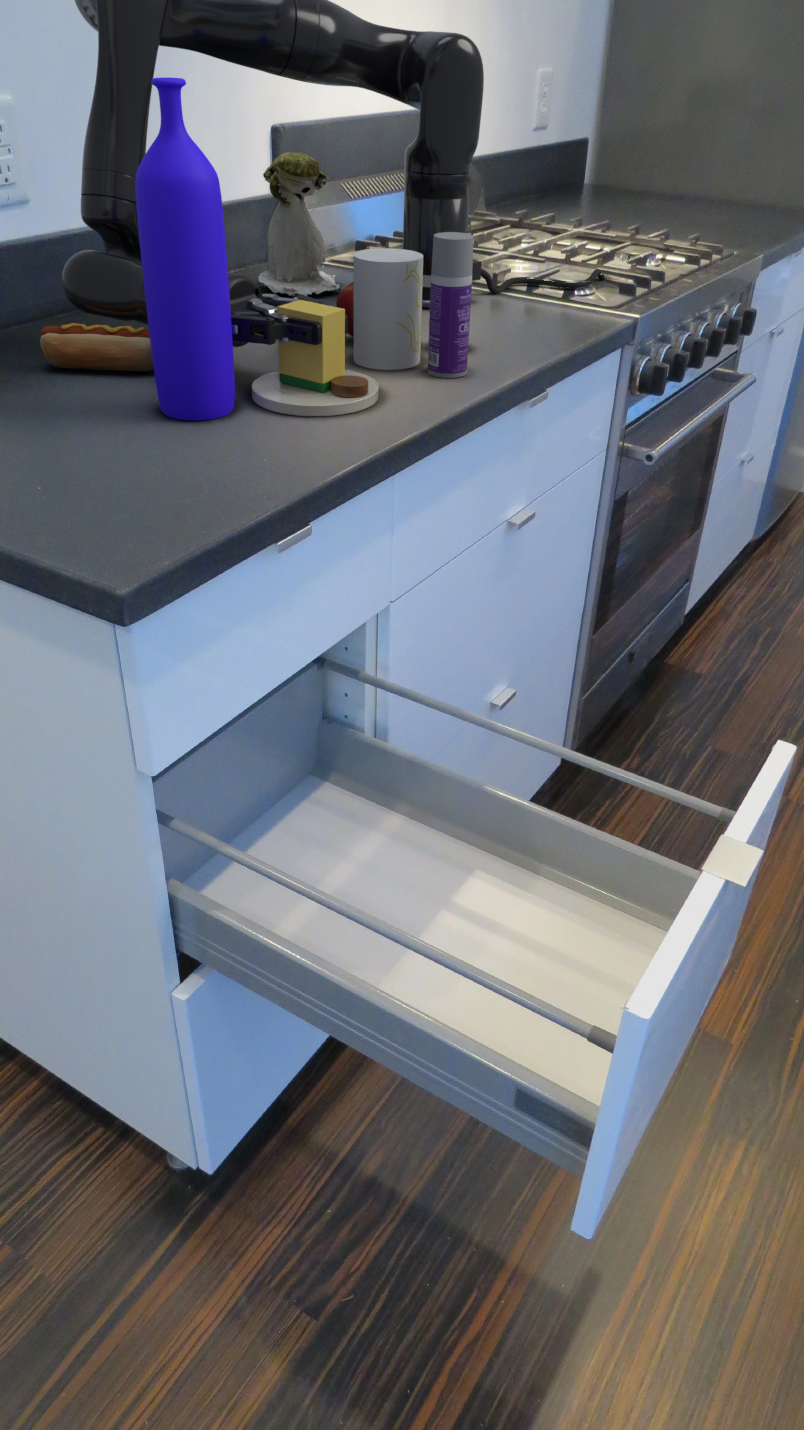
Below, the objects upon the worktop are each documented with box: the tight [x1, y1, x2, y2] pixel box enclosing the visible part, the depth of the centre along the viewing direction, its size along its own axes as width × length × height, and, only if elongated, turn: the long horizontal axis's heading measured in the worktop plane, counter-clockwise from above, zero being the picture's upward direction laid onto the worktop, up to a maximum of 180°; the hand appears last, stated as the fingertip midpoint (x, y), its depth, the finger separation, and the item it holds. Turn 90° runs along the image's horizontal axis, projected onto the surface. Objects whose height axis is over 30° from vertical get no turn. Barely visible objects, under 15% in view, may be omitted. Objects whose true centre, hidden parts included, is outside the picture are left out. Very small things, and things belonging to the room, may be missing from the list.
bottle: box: [135, 77, 236, 422], centre depth 101 cm, size 8×8×30 cm
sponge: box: [277, 300, 346, 393], centre depth 111 cm, size 4×6×8 cm, turn 57°
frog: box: [258, 151, 342, 297], centre depth 152 cm, size 12×13×18 cm
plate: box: [251, 369, 380, 417], centre depth 114 cm, size 14×14×1 cm
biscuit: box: [331, 375, 368, 397], centre depth 111 cm, size 4×4×1 cm
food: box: [39, 322, 154, 373], centre depth 119 cm, size 14×6×5 cm, turn 86°
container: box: [427, 232, 474, 379], centre depth 119 cm, size 5×5×15 cm
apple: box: [335, 281, 354, 339], centre depth 131 cm, size 8×8×8 cm
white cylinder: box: [352, 247, 423, 371], centre depth 123 cm, size 8×8×12 cm
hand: (332, 329), depth 109 cm, fingers closed on sponge, 4 cm apart
